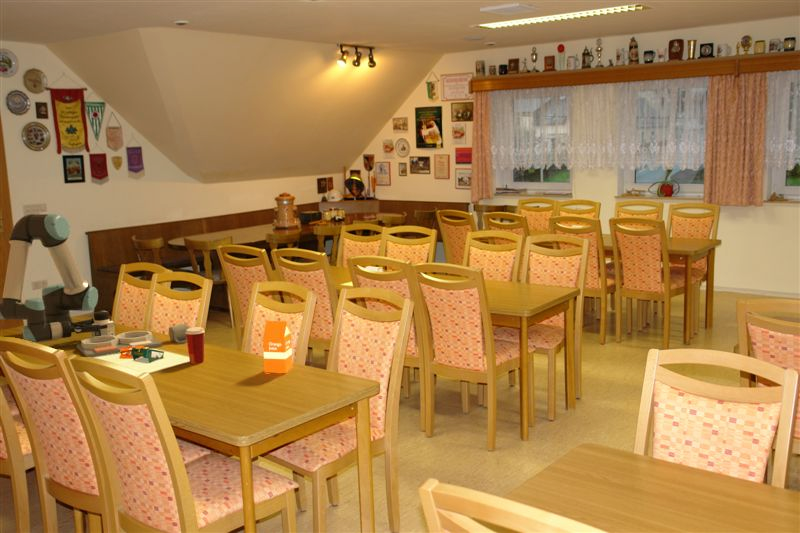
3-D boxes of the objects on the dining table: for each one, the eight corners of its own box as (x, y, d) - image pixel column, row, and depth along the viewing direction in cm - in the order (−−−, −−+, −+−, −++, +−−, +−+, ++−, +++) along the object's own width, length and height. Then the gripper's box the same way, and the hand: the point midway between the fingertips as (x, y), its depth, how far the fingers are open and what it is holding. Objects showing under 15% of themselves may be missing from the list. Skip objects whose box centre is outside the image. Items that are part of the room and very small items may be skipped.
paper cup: (209, 359, 322) (207, 326, 320) (202, 364, 314) (200, 331, 312) (191, 359, 323) (188, 326, 321) (184, 364, 315) (181, 331, 313)
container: (108, 340, 356) (106, 313, 354) (91, 341, 356) (89, 313, 354) (114, 336, 364) (112, 309, 362) (98, 337, 364) (96, 310, 362)
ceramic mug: (168, 340, 357) (167, 324, 356) (186, 337, 361) (185, 321, 360) (174, 345, 348) (173, 328, 347) (192, 342, 352) (191, 326, 351)
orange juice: (286, 374, 298) (283, 323, 295) (264, 373, 300) (261, 323, 297) (292, 368, 306) (290, 319, 303) (271, 367, 307) (269, 318, 304)
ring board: (77, 347, 348) (76, 339, 347) (148, 337, 365) (148, 328, 364) (87, 358, 329) (86, 348, 329) (162, 346, 346) (161, 337, 346)
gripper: (57, 333, 360) (106, 326, 371) (66, 343, 341) (118, 335, 352) (55, 317, 358) (105, 311, 370) (64, 326, 339) (116, 319, 351)
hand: (111, 322), depth 361 cm, fingers closed on container, 10 cm apart
